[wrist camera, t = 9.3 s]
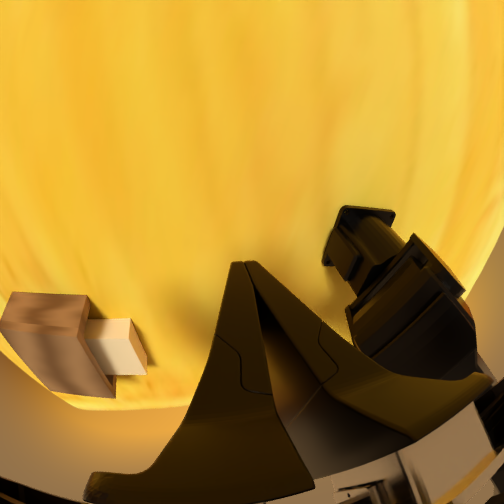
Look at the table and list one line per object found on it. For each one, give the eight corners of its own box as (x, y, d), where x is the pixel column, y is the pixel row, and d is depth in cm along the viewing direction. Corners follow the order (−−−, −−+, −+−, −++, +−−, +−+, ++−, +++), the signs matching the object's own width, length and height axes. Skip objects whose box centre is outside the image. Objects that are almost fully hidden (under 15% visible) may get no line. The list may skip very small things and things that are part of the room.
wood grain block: (86, 295, 23) (76, 336, 19) (117, 365, 31) (115, 398, 27) (12, 291, 20) (-3, 327, 16) (55, 360, 28) (50, 390, 24)
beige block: (130, 315, 26) (128, 338, 24) (147, 354, 31) (147, 374, 29) (53, 316, 24) (47, 337, 22) (79, 354, 29) (76, 373, 27)
